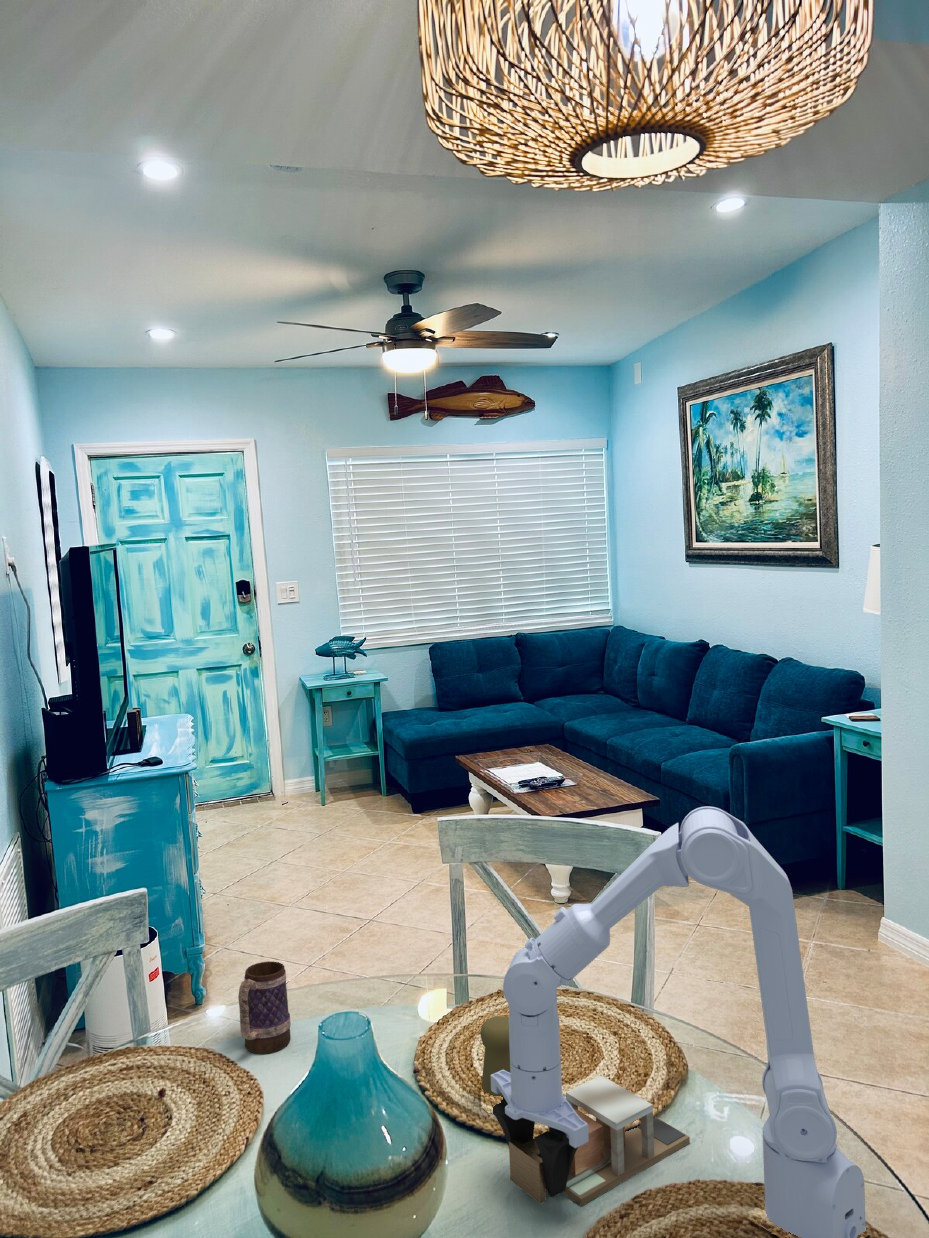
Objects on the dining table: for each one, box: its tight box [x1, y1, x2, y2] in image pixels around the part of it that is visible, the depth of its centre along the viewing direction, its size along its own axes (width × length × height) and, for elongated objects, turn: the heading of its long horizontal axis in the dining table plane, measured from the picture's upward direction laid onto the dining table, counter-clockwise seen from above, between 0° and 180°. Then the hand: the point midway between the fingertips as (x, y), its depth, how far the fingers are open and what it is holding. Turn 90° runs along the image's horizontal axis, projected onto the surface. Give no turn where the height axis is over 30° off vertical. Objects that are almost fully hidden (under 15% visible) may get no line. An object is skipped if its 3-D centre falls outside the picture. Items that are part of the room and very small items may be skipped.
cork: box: [479, 1015, 510, 1097], centre depth 118 cm, size 6×6×11 cm
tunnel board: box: [562, 1075, 691, 1207], centre depth 106 cm, size 9×18×7 cm, turn 126°
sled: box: [508, 1109, 625, 1204], centre depth 103 cm, size 5×15×5 cm, turn 126°
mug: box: [237, 960, 292, 1055], centre depth 135 cm, size 10×7×12 cm
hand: (539, 1178), depth 100 cm, fingers closed on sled, 5 cm apart
